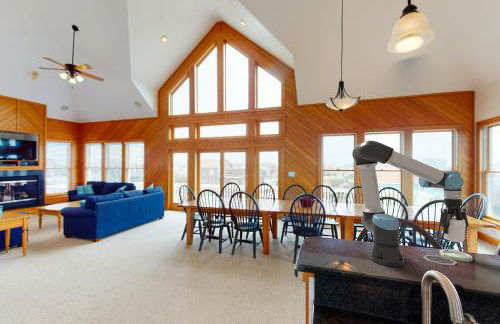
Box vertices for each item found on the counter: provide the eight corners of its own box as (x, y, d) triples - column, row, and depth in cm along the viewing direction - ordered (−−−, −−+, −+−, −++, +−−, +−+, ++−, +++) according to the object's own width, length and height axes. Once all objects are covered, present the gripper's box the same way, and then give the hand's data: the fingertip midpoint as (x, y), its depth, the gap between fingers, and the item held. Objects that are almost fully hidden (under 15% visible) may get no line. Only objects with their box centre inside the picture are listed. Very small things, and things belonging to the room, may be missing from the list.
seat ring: (433, 264, 110) (433, 262, 110) (419, 255, 122) (419, 254, 122) (462, 266, 107) (462, 265, 107) (445, 257, 119) (445, 255, 119)
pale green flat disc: (449, 260, 115) (449, 257, 115) (434, 251, 128) (434, 248, 128) (479, 262, 112) (478, 259, 113) (460, 253, 125) (460, 250, 125)
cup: (440, 238, 124) (438, 217, 125) (454, 238, 125) (452, 217, 126) (456, 243, 115) (455, 220, 116) (471, 242, 116) (470, 220, 117)
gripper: (443, 199, 117) (445, 242, 115) (476, 198, 120) (479, 240, 118) (429, 197, 124) (431, 237, 123) (461, 197, 127) (463, 236, 126)
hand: (454, 239), depth 121 cm, fingers closed on cup, 9 cm apart
